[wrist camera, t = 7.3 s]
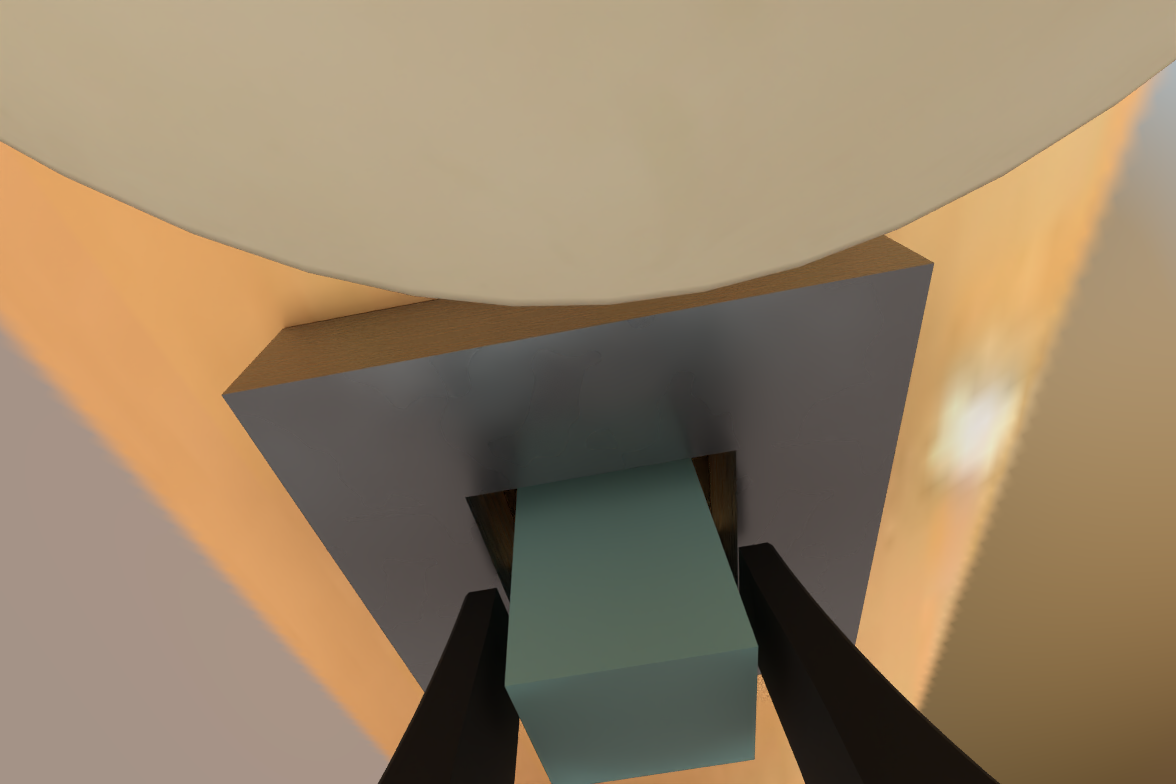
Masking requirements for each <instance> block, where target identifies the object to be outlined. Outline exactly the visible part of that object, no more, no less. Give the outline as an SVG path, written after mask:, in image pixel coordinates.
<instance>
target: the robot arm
mask: <svg viewBox="0 0 1176 784" xmlns="http://www.w3.org/2000/svg"><path fill="white" fill-rule="evenodd" d="M738 552H739V594H740V597H741V600H742V602H743V605H744V608H745V611H746V614H747V616H748V619H749V622H750V625H751V628H752V630H753V633H754V636H755V639H756V642H757V644H758V667H759V669H760V672H761V674H762V677H763V679H764V682H765V684H766V687H767V689H768V692H769V694H770V697H771V699H772V702H773V704H774V707H775V709H776V712H777V714H778V717H779V719H780V721H781V724H782V726H783V729H784V731H785V734H786V736H787V739H788V741H789V744H790V746H791V749H792V751H793V753H794V756H795V758H796V761H797V763H798V766H799V768H800V771H801V773H802V776H803V779H804V781H805V784H1000V783H999V782H997V781H996V780H995V779H994V778H993V777H991V776H990V775H989V774H987V772H985V771H984V770H983V769H982V768H981V767H980V766H979V765H978V764H976V763H975V762H974V761H973V760H972V759H971V758H970V757H969V756H967V755H966V754H965V753H964V752H963V751H962V750H961V749H960V748H958V747H957V746H956V745H955V744H954V743H953V742H952V741H951V740H949V739H948V738H947V737H946V736H945V735H944V734H943V733H942V732H941V731H940V730H939V729H938V728H937V727H935V726H934V725H933V724H932V723H931V722H930V721H929V720H928V719H927V718H926V717H925V716H924V715H923V714H922V713H920V712H919V711H918V710H917V709H916V708H915V707H914V706H913V705H912V704H911V703H910V702H909V701H908V700H907V699H906V698H905V697H904V696H903V695H902V694H901V693H900V692H899V691H898V690H897V689H896V688H895V687H894V686H893V685H892V684H891V683H890V682H889V681H888V680H887V679H886V678H885V677H884V676H883V675H882V674H881V673H880V672H879V671H878V670H877V669H876V668H875V667H874V666H873V665H872V663H871V662H870V661H869V660H868V659H867V658H866V657H865V656H864V655H863V654H862V653H861V652H860V651H859V650H858V649H857V647H856V646H855V645H854V644H853V643H852V642H851V641H850V640H849V639H848V637H847V636H846V635H845V634H844V633H843V632H842V631H841V630H840V628H839V627H838V626H837V625H836V624H835V623H834V622H833V621H832V620H831V618H830V617H829V616H828V615H827V614H826V613H825V611H824V610H823V609H822V608H821V607H820V606H819V604H818V603H817V602H816V601H815V600H814V598H813V597H812V596H811V595H810V593H809V592H808V591H807V590H806V589H805V587H804V586H803V585H802V584H801V582H800V581H799V580H798V579H797V577H796V576H795V575H794V573H793V572H792V571H791V570H790V568H789V567H788V566H787V564H786V563H785V562H784V560H783V559H782V557H781V556H780V555H779V553H778V552H777V551H776V549H775V548H774V546H773V545H772V544H770V543H768V542H766V543H760V544H754V545H748V546H742V547H738ZM508 625H509V614H508V612H507V610H506V608H505V605H504V603H503V601H502V598H501V596H500V594H499V591H498V589H497V588H491V589H486V590H480V591H474V592H469V593H468V594H467V595H466V596H465V598H464V601H463V604H462V606H461V609H460V612H459V614H458V617H457V619H456V622H455V624H454V627H453V629H452V632H451V634H450V637H449V639H448V641H447V644H446V646H445V648H444V651H443V653H442V655H441V658H440V660H439V662H438V665H437V667H436V669H435V671H434V673H433V675H432V678H431V680H430V682H429V684H428V686H427V688H426V691H425V693H424V695H423V697H422V699H421V701H420V704H419V706H418V708H417V710H416V712H415V714H414V716H413V718H412V720H411V722H410V724H409V726H408V728H407V730H406V732H405V733H404V735H403V737H402V739H401V741H400V743H399V745H398V747H397V749H396V751H395V753H394V755H393V757H392V759H391V761H390V762H389V764H388V766H387V768H386V770H385V772H384V773H383V775H382V777H381V779H380V781H379V782H378V784H514V780H515V768H516V756H517V744H518V731H519V718H520V717H519V715H518V713H517V711H516V709H515V707H514V705H513V703H512V701H511V699H510V697H509V694H508V692H507V690H506V688H505V672H506V657H507V641H508Z"/></svg>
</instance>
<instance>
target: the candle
mask: <svg viewBox="0 0 1176 784" xmlns="http://www.w3.org/2000/svg"><path fill="white" fill-rule="evenodd" d="M1175 60H1176V0H0V141H1V142H3V143H5V144H7V145H8V146H10V147H12V148H14V149H16V150H17V151H19V152H21V153H23V154H25V155H27V156H28V157H30V158H32V159H34V160H36V161H37V162H39V163H41V164H43V165H45V166H46V167H48V168H50V169H52V170H54V171H55V172H57V173H59V174H61V175H63V176H65V177H67V178H69V179H71V180H74V181H76V182H78V183H80V184H83V185H85V186H87V187H89V188H92V189H94V190H96V191H98V192H101V193H103V194H105V195H107V196H109V197H112V198H114V199H116V200H118V201H121V202H123V203H125V204H127V205H130V206H132V207H134V208H136V209H139V210H141V211H143V212H145V213H148V214H150V215H152V216H154V217H157V218H159V219H161V220H163V221H165V222H168V223H170V224H172V225H174V226H177V227H179V228H181V229H183V230H186V231H188V232H190V233H192V234H195V235H198V236H201V237H204V238H207V239H210V240H213V241H216V242H219V243H222V244H225V245H228V246H231V247H234V248H237V249H240V250H243V251H246V252H249V253H252V254H255V255H258V256H261V257H264V258H266V259H269V260H272V261H275V262H278V263H281V264H284V265H287V266H290V267H293V268H296V269H299V270H302V271H305V272H308V273H313V274H317V275H322V276H326V277H331V278H335V279H340V280H344V281H349V282H353V283H358V284H362V285H367V286H371V287H376V288H380V289H385V290H389V291H394V292H398V293H403V294H407V295H412V296H419V297H429V298H438V299H448V300H457V301H467V302H477V303H486V304H496V305H505V306H568V305H612V304H619V303H627V302H634V301H641V300H648V299H656V298H663V297H670V296H677V295H685V294H692V293H699V292H705V291H709V290H713V289H717V288H721V287H725V286H728V285H732V284H736V283H740V282H744V281H748V280H751V279H755V278H759V277H763V276H767V275H771V274H774V273H778V272H782V271H786V270H790V269H794V268H797V267H801V266H803V265H806V264H809V263H811V262H814V261H816V260H819V259H822V258H824V257H827V256H829V255H832V254H835V253H837V252H840V251H842V250H845V249H848V248H850V247H853V246H855V245H858V244H861V243H863V242H866V241H868V240H871V239H874V238H876V237H879V236H881V235H884V234H887V233H889V232H892V231H894V230H897V229H899V228H901V227H903V226H905V225H907V224H909V223H911V222H913V221H915V220H917V219H919V218H921V217H923V216H925V215H927V214H929V213H931V212H933V211H935V210H937V209H939V208H941V207H943V206H945V205H947V204H949V203H951V202H952V201H954V200H956V199H958V198H960V197H962V196H964V195H966V194H968V193H970V192H972V191H974V190H976V189H978V188H980V187H982V186H984V185H986V184H988V183H990V182H992V181H994V180H996V179H998V178H1000V177H1002V176H1003V175H1005V174H1007V173H1008V172H1010V171H1011V170H1013V169H1015V168H1016V167H1018V166H1019V165H1021V164H1022V163H1024V162H1026V161H1027V160H1029V159H1030V158H1032V157H1034V156H1035V155H1037V154H1038V153H1040V152H1042V151H1043V150H1045V149H1046V148H1048V147H1049V146H1051V145H1053V144H1054V143H1056V142H1057V141H1059V140H1061V139H1062V138H1064V137H1065V136H1067V135H1068V134H1070V133H1072V132H1073V131H1075V130H1076V129H1078V128H1080V127H1081V126H1083V125H1084V124H1086V123H1088V122H1089V121H1091V120H1092V119H1094V118H1095V117H1097V116H1099V115H1100V114H1102V113H1103V112H1105V111H1107V110H1108V109H1110V108H1111V107H1113V106H1115V105H1116V104H1117V103H1119V102H1120V101H1121V100H1123V99H1124V98H1125V97H1127V96H1128V95H1129V94H1131V93H1132V92H1133V91H1135V90H1136V89H1137V88H1139V87H1140V86H1141V85H1143V84H1144V83H1145V82H1147V81H1148V80H1149V79H1151V78H1152V77H1153V76H1155V75H1156V74H1157V73H1159V72H1160V71H1161V70H1163V69H1164V68H1165V67H1167V66H1168V65H1169V64H1171V63H1172V62H1173V61H1175Z"/></svg>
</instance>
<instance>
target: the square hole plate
mask: <svg viewBox="0 0 1176 784" xmlns="http://www.w3.org/2000/svg"><path fill="white" fill-rule="evenodd" d="M933 266H934V263H933V262H931V261H930V260H928V259H926V258H924V257H922V256H921V255H919V254H917V253H915V252H913V251H912V250H910V249H908V248H906V247H904V246H903V245H901V244H899V243H897V242H896V241H894V240H892V239H890V238H888V237H887V236H885V235H881V236H879V237H876V238H874V239H871V240H868V241H866V242H863V243H861V244H858V245H855V246H853V247H850V248H848V249H845V250H842V251H840V252H837V253H835V254H832V255H829V256H827V257H824V258H822V259H819V260H816V261H814V262H811V263H809V264H806V265H803V266H801V267H797V268H794V269H790V270H786V271H782V272H778V273H774V274H771V275H767V276H763V277H759V278H755V279H751V280H748V281H744V282H740V283H736V284H732V285H728V286H725V287H721V288H717V289H713V290H709V291H705V292H699V293H692V294H685V295H677V296H670V297H663V298H656V299H648V300H641V301H634V302H627V303H619V304H612V305H568V306H505V305H496V304H486V303H477V302H467V301H457V300H448V299H438V300H432V301H427V302H422V303H416V304H411V305H406V306H401V307H395V308H390V309H385V310H379V311H374V312H369V313H364V314H358V315H353V316H348V317H343V318H337V319H332V320H327V321H321V322H316V323H311V324H306V325H300V326H295V327H290V328H284V329H282V330H281V331H280V333H279V334H278V335H277V336H276V337H275V338H274V339H273V340H272V341H271V342H270V343H269V344H268V345H267V347H266V348H265V349H264V350H263V351H262V352H261V353H260V354H259V355H258V356H257V357H256V358H255V359H254V361H253V362H252V363H251V364H250V365H249V366H248V367H247V368H246V369H245V370H244V371H243V372H242V373H241V375H240V376H239V377H238V378H237V379H236V380H235V381H234V382H233V383H232V384H231V385H230V386H229V387H228V389H227V390H226V391H225V392H224V393H223V394H222V396H223V398H224V399H225V401H226V402H227V404H228V405H229V407H230V408H231V410H232V411H233V412H234V414H235V415H236V417H237V418H238V420H239V421H240V423H241V424H242V426H243V427H244V429H245V430H246V432H247V433H248V434H249V436H250V437H251V439H252V440H253V442H254V443H255V445H256V446H257V448H258V449H259V451H260V452H261V453H262V455H263V456H264V458H265V459H266V461H267V462H268V464H269V465H270V467H271V468H272V470H273V471H274V473H275V474H276V475H277V477H278V478H279V480H280V481H281V483H282V484H283V486H284V487H285V489H286V490H287V492H288V493H289V494H290V496H291V497H292V499H293V500H294V502H295V503H296V505H297V506H298V508H299V509H300V511H301V512H302V514H303V515H304V516H305V518H306V519H307V521H308V522H309V524H310V525H311V527H312V528H313V530H314V531H315V533H316V534H317V535H318V537H319V538H320V540H321V541H322V543H323V544H324V546H325V547H326V549H327V550H328V552H329V553H330V555H331V556H332V557H333V559H334V560H335V562H336V563H337V565H338V566H339V568H340V569H341V571H342V572H343V574H344V575H345V576H346V578H347V579H348V581H349V582H350V584H351V585H352V587H353V588H354V590H355V591H356V593H357V594H358V596H359V597H360V598H361V600H362V601H363V603H364V604H365V606H366V607H367V609H368V610H369V612H370V613H371V615H372V616H373V617H374V619H375V620H376V622H377V623H378V625H379V626H380V628H381V629H382V631H383V632H384V634H385V635H386V637H387V638H388V639H389V641H390V642H391V644H392V645H393V647H394V648H395V650H396V651H397V653H398V654H399V656H400V657H401V658H402V660H403V661H404V663H405V664H406V666H407V667H408V669H409V670H410V672H411V673H412V675H413V676H414V678H415V679H416V680H417V682H418V683H419V685H420V686H421V688H422V689H423V691H424V692H425V691H426V688H427V686H428V684H429V682H430V680H431V678H432V675H433V673H434V671H435V669H436V667H437V665H438V662H439V660H440V658H441V655H442V653H443V651H444V648H445V646H446V644H447V641H448V639H449V637H450V634H451V632H452V629H453V627H454V624H455V622H456V619H457V617H458V614H459V612H460V609H461V606H462V604H463V601H464V598H465V596H466V595H467V594H468V593H469V592H474V591H480V590H486V589H491V588H497V589H498V591H499V594H500V596H501V598H502V601H503V603H504V605H505V608H506V610H507V612H508V614H509V610H510V594H511V579H512V563H513V548H514V532H515V523H514V520H513V517H512V514H511V512H510V509H509V506H508V503H507V501H506V498H505V495H504V492H503V491H504V490H510V489H516V488H522V487H527V486H533V485H539V484H545V483H550V482H556V481H562V480H568V479H573V478H579V477H585V476H590V475H596V474H602V473H608V472H613V471H619V470H625V469H631V468H636V467H642V466H648V465H654V464H659V463H665V462H671V461H677V460H682V459H688V458H694V457H699V456H705V455H708V460H709V478H710V497H711V515H712V518H713V521H714V524H715V527H716V530H717V532H718V535H719V538H720V541H721V544H722V546H723V549H724V552H725V555H726V558H727V560H728V563H729V566H730V569H731V572H732V574H733V577H734V580H735V583H736V586H737V588H738V591H739V552H738V547H742V546H748V545H754V544H760V543H766V542H768V543H770V544H772V545H773V546H774V548H775V549H776V551H777V552H778V553H779V555H780V556H781V557H782V559H783V560H784V562H785V563H786V564H787V566H788V567H789V568H790V570H791V571H792V572H793V573H794V575H795V576H796V577H797V579H798V580H799V581H800V582H801V584H802V585H803V586H804V587H805V589H806V590H807V591H808V592H809V593H810V595H811V596H812V597H813V598H814V600H815V601H816V602H817V603H818V604H819V606H820V607H821V608H822V609H823V610H824V611H825V613H826V614H827V615H828V616H829V617H830V618H831V620H832V621H833V622H834V623H835V624H836V625H837V626H838V627H839V628H840V630H841V631H842V632H843V633H844V634H845V635H846V636H847V637H848V639H849V640H850V641H851V642H852V643H853V644H854V645H855V643H856V638H857V633H858V628H859V623H860V618H861V614H862V609H863V604H864V599H865V594H866V589H867V585H868V580H869V575H870V570H871V565H872V560H873V556H874V551H875V546H876V541H877V536H878V531H879V527H880V522H881V517H882V512H883V507H884V502H885V498H886V493H887V488H888V483H889V478H890V474H891V469H892V464H893V459H894V454H895V449H896V445H897V440H898V435H899V430H900V425H901V420H902V416H903V411H904V406H905V401H906V396H907V391H908V387H909V382H910V377H911V372H912V367H913V362H914V358H915V353H916V348H917V343H918V338H919V333H920V329H921V324H922V319H923V314H924V309H925V304H926V300H927V295H928V290H929V285H930V280H931V275H932V271H933ZM760 674H761V672H760V669H759V667H758V670H757V675H760Z"/></svg>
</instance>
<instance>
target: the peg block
mask: <svg viewBox="0 0 1176 784" xmlns="http://www.w3.org/2000/svg"><path fill="white" fill-rule="evenodd" d="M757 670H758V644H757V642H756V639H755V636H754V633H753V630H752V628H751V625H750V622H749V619H748V616H747V614H746V611H745V608H744V605H743V602H742V600H741V597H740V594H739V591H738V588H737V586H736V583H735V580H734V577H733V574H732V572H731V569H730V566H729V563H728V560H727V558H726V555H725V552H724V549H723V546H722V544H721V541H720V538H719V535H718V532H717V530H716V527H715V524H714V521H713V518H712V516H711V513H710V510H709V507H708V504H707V502H706V499H705V496H704V493H703V490H702V488H701V485H700V482H699V479H698V476H697V474H696V471H695V468H694V465H693V462H692V460H691V458H688V459H682V460H677V461H671V462H665V463H659V464H654V465H648V466H642V467H636V468H631V469H625V470H619V471H613V472H608V473H602V474H596V475H590V476H585V477H579V478H573V479H568V480H562V481H556V482H550V483H545V484H539V485H533V486H527V487H522V488H517V501H516V517H515V532H514V548H513V563H512V579H511V594H510V610H509V625H508V641H507V657H506V672H505V688H506V690H507V692H508V694H509V697H510V699H511V701H512V703H513V705H514V707H515V709H516V711H517V713H518V715H519V717H520V719H521V721H522V723H523V726H524V728H525V730H526V732H527V734H528V736H529V738H530V740H531V742H532V744H533V746H534V748H535V750H536V753H537V755H538V757H539V759H540V761H541V763H542V765H543V767H544V769H545V771H546V773H547V775H548V777H549V779H550V782H551V784H594V783H601V782H607V781H614V780H621V779H628V778H634V777H641V776H648V775H654V774H661V773H668V772H674V771H681V770H688V769H694V768H701V767H708V766H715V765H721V764H728V763H735V762H741V761H748V760H754V759H755V730H756V700H757Z"/></svg>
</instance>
